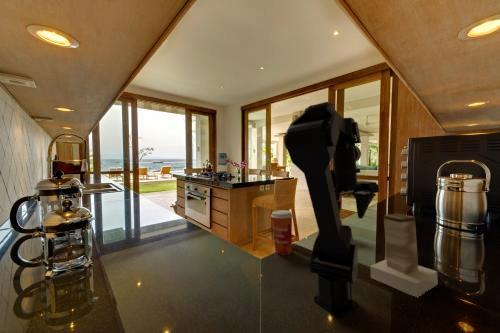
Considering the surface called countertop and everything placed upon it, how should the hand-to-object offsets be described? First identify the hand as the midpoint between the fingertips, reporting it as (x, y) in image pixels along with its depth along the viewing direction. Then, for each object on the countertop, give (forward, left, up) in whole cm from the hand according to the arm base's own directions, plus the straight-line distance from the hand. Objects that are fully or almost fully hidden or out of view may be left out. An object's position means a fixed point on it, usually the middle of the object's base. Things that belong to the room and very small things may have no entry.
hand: (348, 221), depth 57 cm
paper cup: (-7, +21, -14) cm, 26 cm away
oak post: (+6, -10, -11) cm, 16 cm away
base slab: (+6, -10, -14) cm, 18 cm away
